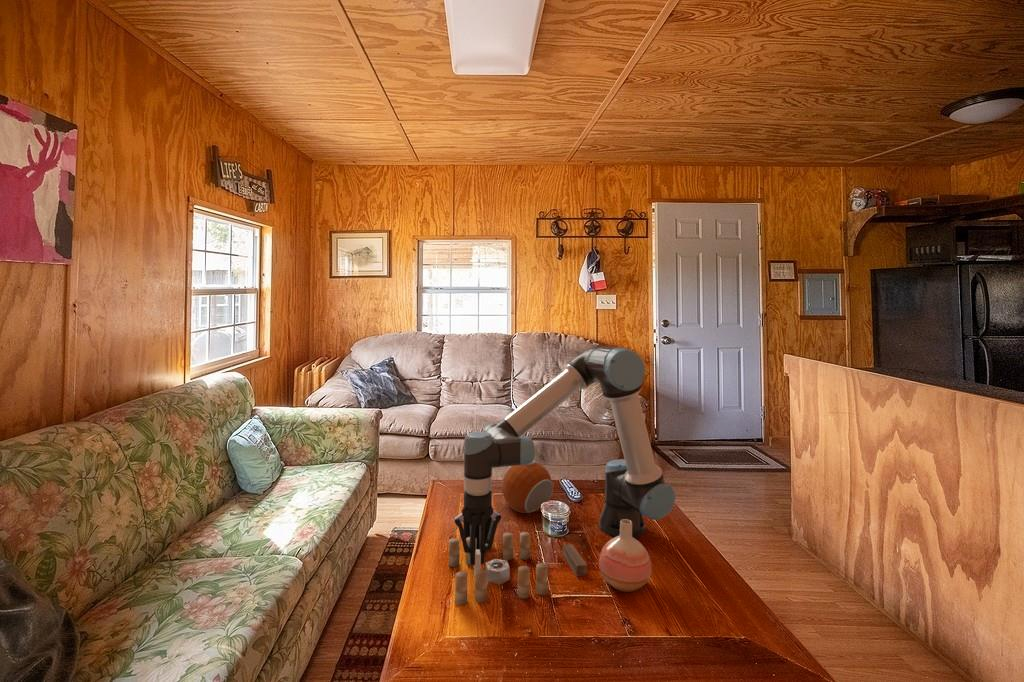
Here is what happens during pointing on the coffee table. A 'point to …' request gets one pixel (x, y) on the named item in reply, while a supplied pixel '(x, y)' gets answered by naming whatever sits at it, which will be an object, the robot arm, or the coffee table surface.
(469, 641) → the coffee table surface
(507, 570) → the nut
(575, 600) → the coffee table surface
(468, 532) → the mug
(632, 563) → the vase
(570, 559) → the rail
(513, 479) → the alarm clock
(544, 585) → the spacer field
